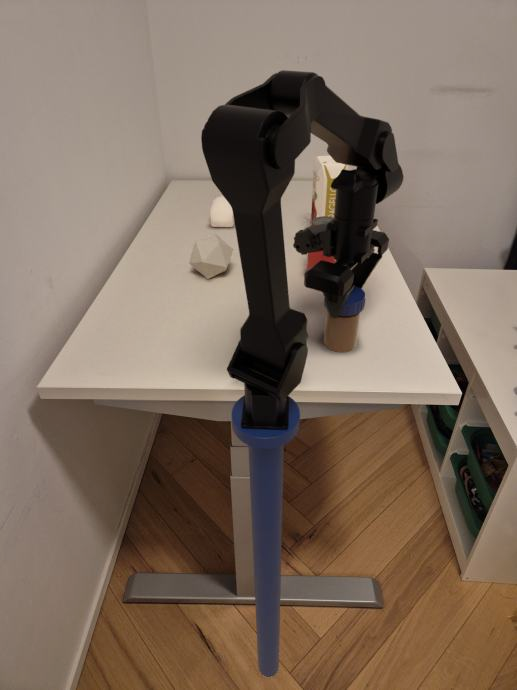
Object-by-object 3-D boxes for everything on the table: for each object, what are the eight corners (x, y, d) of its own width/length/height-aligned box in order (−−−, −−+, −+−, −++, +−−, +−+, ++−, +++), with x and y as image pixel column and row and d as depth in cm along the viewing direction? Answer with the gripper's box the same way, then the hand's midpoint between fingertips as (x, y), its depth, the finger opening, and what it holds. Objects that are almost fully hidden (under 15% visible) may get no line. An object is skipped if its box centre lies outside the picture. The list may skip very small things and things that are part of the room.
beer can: (302, 278, 100) (305, 224, 93) (311, 265, 105) (314, 213, 98) (333, 283, 98) (337, 229, 91) (340, 270, 103) (345, 217, 96)
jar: (358, 352, 79) (364, 307, 73) (325, 352, 79) (328, 306, 74) (354, 333, 83) (359, 289, 78) (322, 333, 83) (326, 289, 78)
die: (217, 262, 108) (187, 232, 102) (246, 251, 103) (216, 219, 97) (206, 290, 104) (174, 261, 98) (235, 280, 98) (204, 248, 92)
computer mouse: (239, 211, 133) (238, 189, 129) (233, 229, 122) (232, 205, 118) (217, 210, 133) (215, 188, 129) (209, 228, 123) (207, 205, 119)
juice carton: (338, 231, 120) (345, 153, 109) (345, 245, 113) (353, 164, 102) (309, 232, 120) (312, 154, 108) (314, 246, 113) (318, 165, 102)
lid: (348, 292, 80) (350, 280, 79) (372, 309, 75) (374, 297, 74) (316, 301, 78) (317, 289, 76) (338, 320, 73) (340, 307, 72)
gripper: (331, 187, 77) (324, 271, 87) (272, 224, 65) (272, 318, 74) (396, 198, 72) (382, 287, 82) (347, 241, 60) (336, 340, 69)
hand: (344, 306), depth 77 cm, fingers open, 7 cm apart
